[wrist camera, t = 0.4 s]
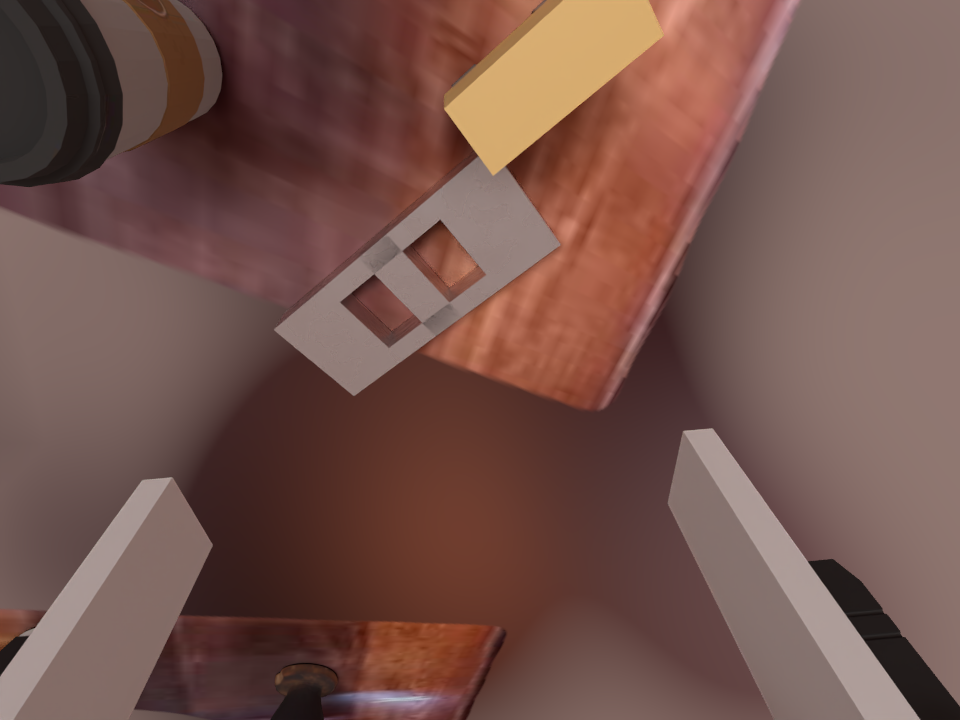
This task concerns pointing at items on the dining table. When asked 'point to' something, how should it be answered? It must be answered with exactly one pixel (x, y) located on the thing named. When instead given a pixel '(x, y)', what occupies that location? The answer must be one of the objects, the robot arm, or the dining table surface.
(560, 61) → the yellow block
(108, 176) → the dining table surface
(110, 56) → the coffee cup
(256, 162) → the dining table surface
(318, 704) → the vase
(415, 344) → the grey slotted base plate
